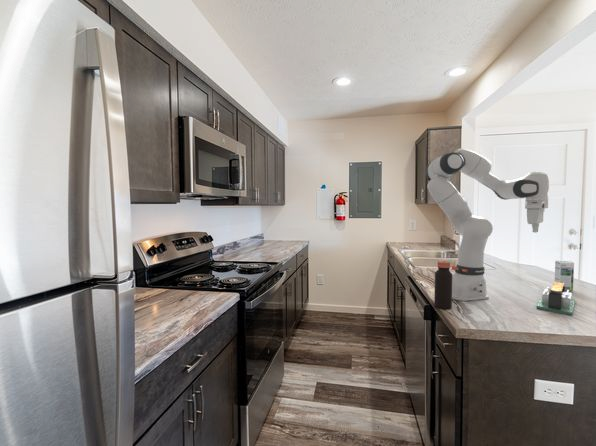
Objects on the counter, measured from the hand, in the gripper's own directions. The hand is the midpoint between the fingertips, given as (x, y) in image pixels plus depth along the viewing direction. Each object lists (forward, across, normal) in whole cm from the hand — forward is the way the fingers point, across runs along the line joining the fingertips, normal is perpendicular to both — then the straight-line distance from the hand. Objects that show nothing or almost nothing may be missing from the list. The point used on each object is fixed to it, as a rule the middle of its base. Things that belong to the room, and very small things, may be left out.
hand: (535, 232), depth 145 cm
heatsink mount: (+30, +18, +11) cm, 37 cm away
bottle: (+30, +56, -23) cm, 68 cm away
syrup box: (+30, -16, +10) cm, 36 cm away
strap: (+23, +18, +11) cm, 31 cm away
